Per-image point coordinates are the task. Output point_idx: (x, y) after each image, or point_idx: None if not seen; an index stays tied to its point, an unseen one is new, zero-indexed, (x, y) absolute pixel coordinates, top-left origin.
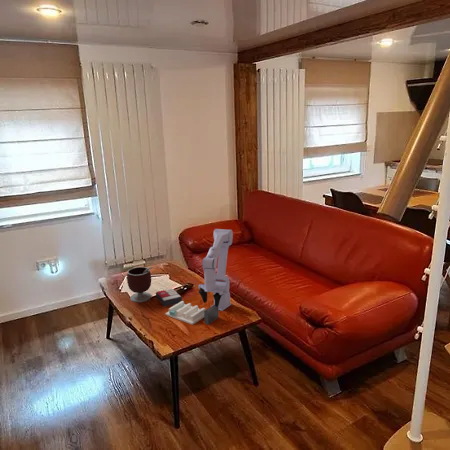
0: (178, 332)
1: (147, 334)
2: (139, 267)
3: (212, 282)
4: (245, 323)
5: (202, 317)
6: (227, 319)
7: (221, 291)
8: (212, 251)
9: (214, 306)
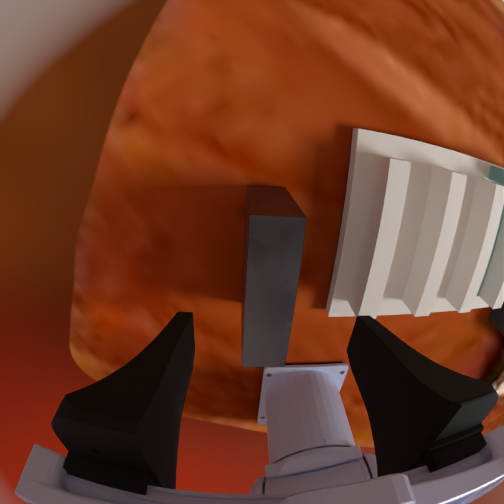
0: (372, 10)
1: None
2: None
3: None
4: (72, 312)
5: (339, 244)
6: (175, 307)
7: (24, 499)
8: None
9: (263, 343)
